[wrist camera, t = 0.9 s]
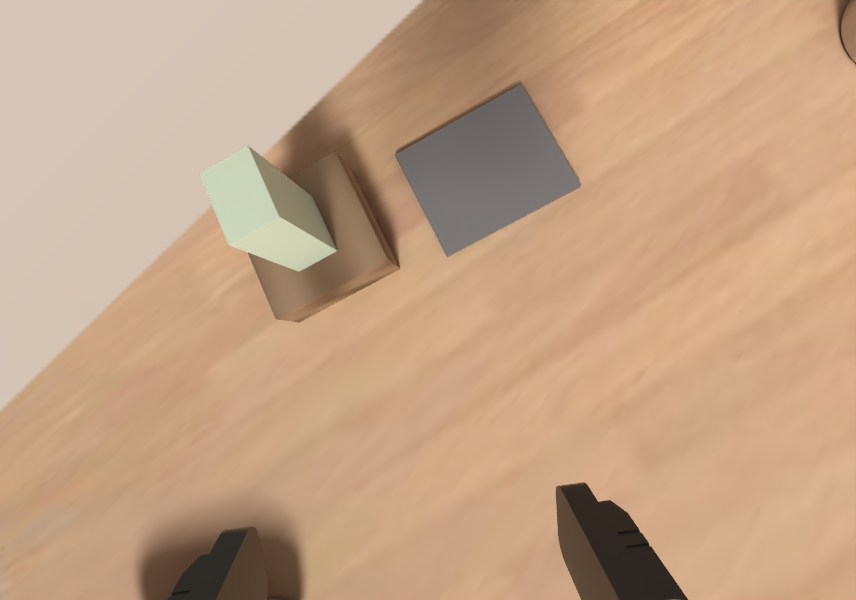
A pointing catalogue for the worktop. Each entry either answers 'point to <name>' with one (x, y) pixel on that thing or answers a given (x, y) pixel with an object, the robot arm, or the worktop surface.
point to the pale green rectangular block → (266, 211)
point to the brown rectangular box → (353, 238)
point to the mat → (486, 170)
